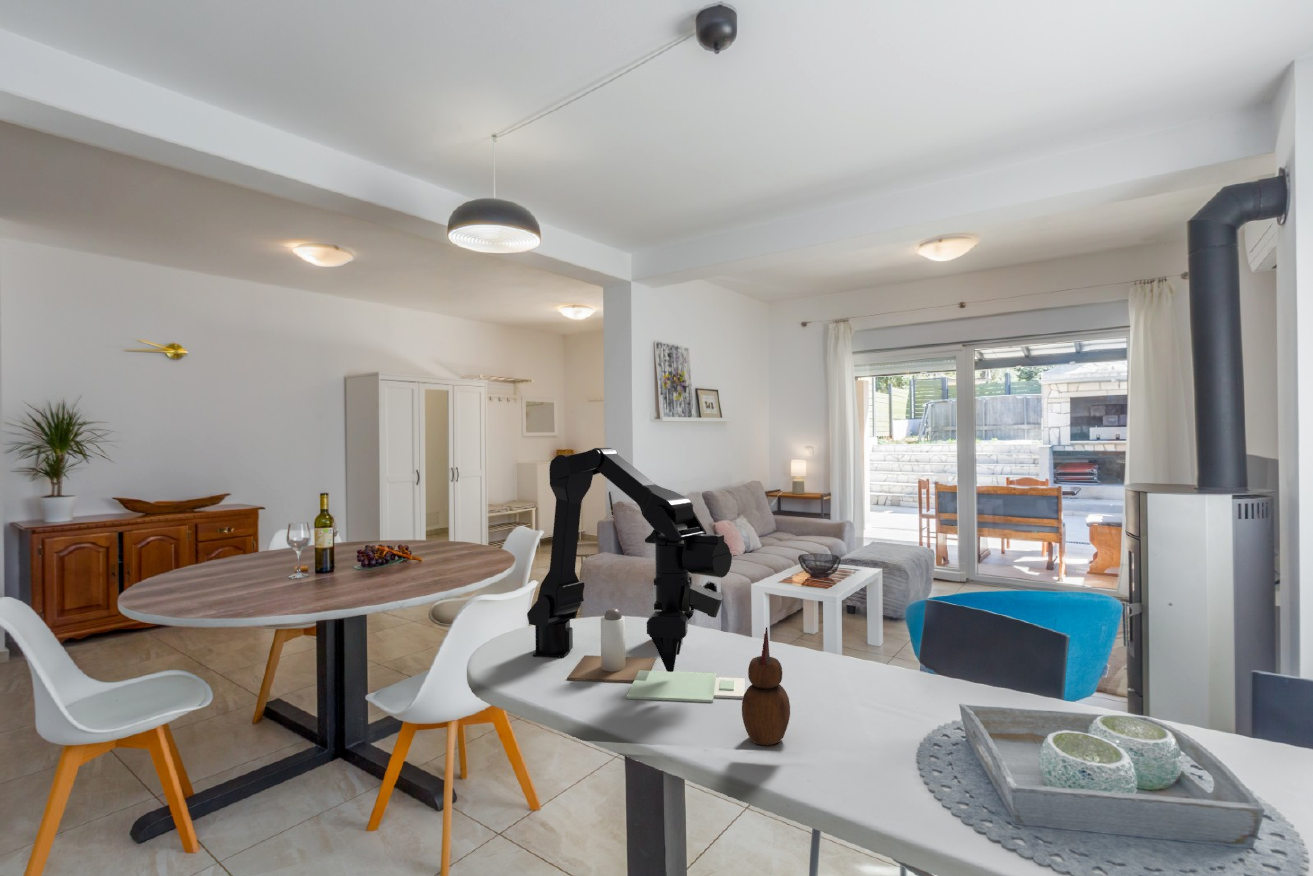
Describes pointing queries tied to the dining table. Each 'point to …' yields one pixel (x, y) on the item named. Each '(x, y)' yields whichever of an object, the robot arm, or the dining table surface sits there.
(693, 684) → the green mat
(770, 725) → the wooden figurine
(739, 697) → the card
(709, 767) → the dining table surface
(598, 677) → the walnut mat
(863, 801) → the dining table surface
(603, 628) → the bottle
